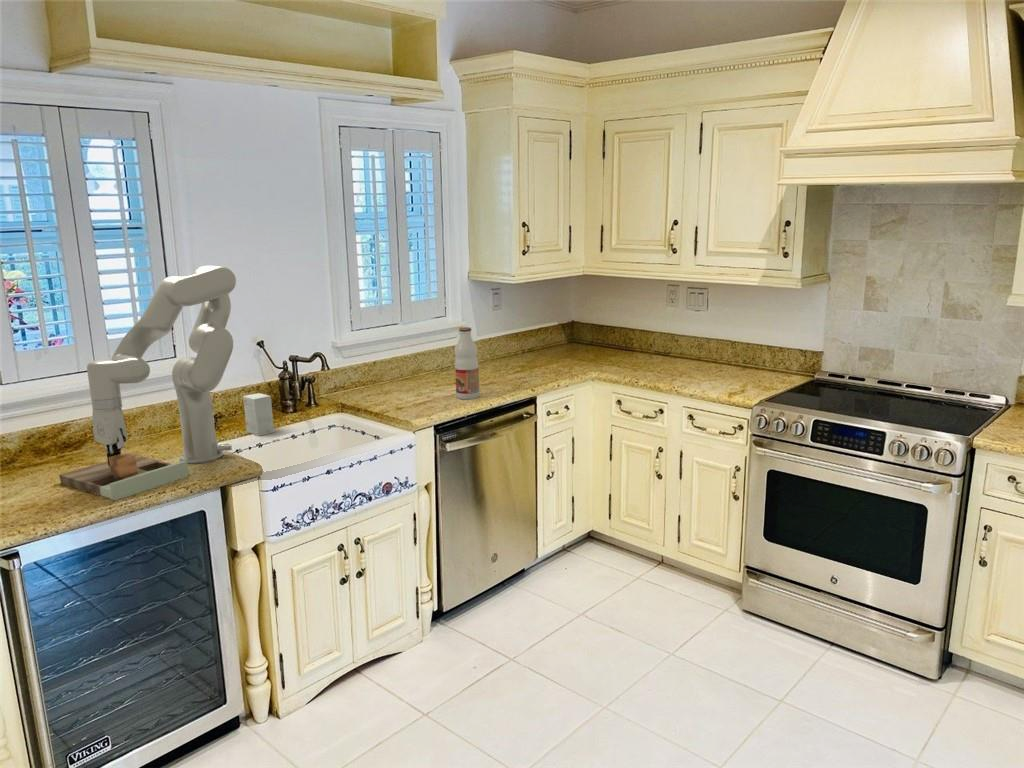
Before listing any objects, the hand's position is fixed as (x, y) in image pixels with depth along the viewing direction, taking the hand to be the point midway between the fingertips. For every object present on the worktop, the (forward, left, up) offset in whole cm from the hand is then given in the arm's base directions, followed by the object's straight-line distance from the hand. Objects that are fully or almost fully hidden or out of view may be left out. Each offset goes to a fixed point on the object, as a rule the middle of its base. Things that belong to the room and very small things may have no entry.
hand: (115, 465), depth 221 cm
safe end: (-10, +9, -4) cm, 14 cm away
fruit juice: (-113, -68, -4) cm, 132 cm away
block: (-3, +4, -1) cm, 5 cm away
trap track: (0, 0, -4) cm, 4 cm away
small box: (-36, -39, -4) cm, 53 cm away
